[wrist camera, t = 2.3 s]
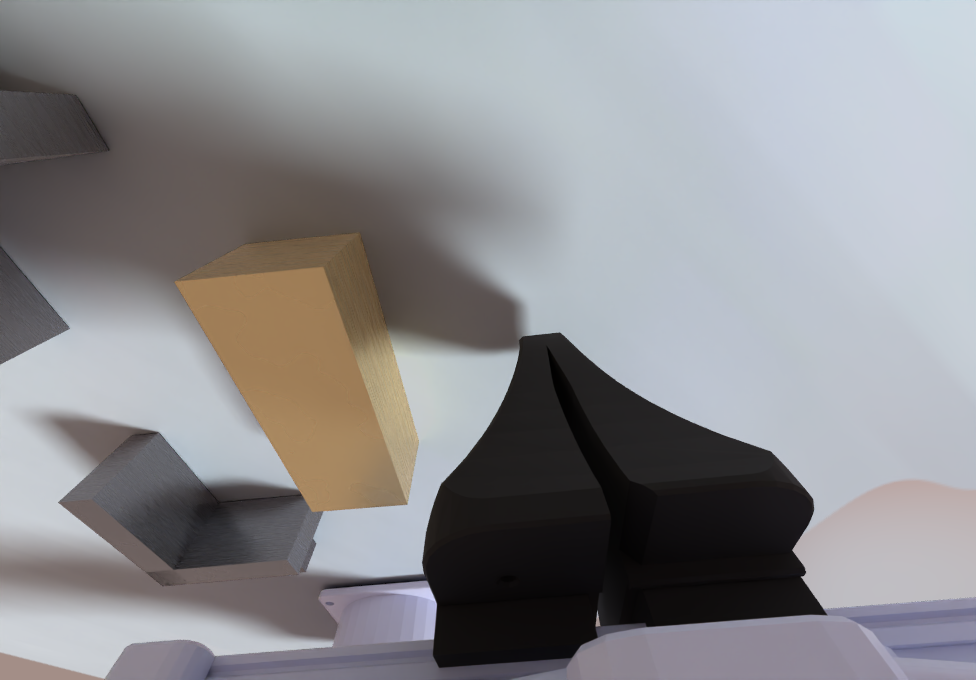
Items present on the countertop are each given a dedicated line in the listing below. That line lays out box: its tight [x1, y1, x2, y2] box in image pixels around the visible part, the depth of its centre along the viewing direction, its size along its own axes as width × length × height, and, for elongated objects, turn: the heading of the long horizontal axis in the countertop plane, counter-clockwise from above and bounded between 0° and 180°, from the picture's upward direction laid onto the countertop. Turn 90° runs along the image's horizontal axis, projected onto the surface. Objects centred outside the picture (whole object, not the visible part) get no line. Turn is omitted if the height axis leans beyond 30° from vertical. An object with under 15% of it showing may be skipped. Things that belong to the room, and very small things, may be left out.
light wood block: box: [175, 232, 419, 512], centre depth 12 cm, size 9×4×3 cm, turn 5°
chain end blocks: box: [0, 90, 323, 586], centre depth 12 cm, size 23×6×3 cm, turn 6°
